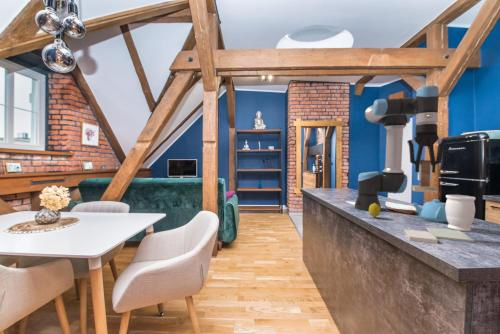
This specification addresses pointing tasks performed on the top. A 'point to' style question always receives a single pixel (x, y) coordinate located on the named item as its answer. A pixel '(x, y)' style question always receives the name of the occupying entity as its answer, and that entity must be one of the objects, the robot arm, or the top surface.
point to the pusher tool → (425, 179)
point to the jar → (460, 212)
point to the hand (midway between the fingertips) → (424, 180)
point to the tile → (420, 236)
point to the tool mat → (449, 234)
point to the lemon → (374, 210)
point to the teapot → (432, 211)
